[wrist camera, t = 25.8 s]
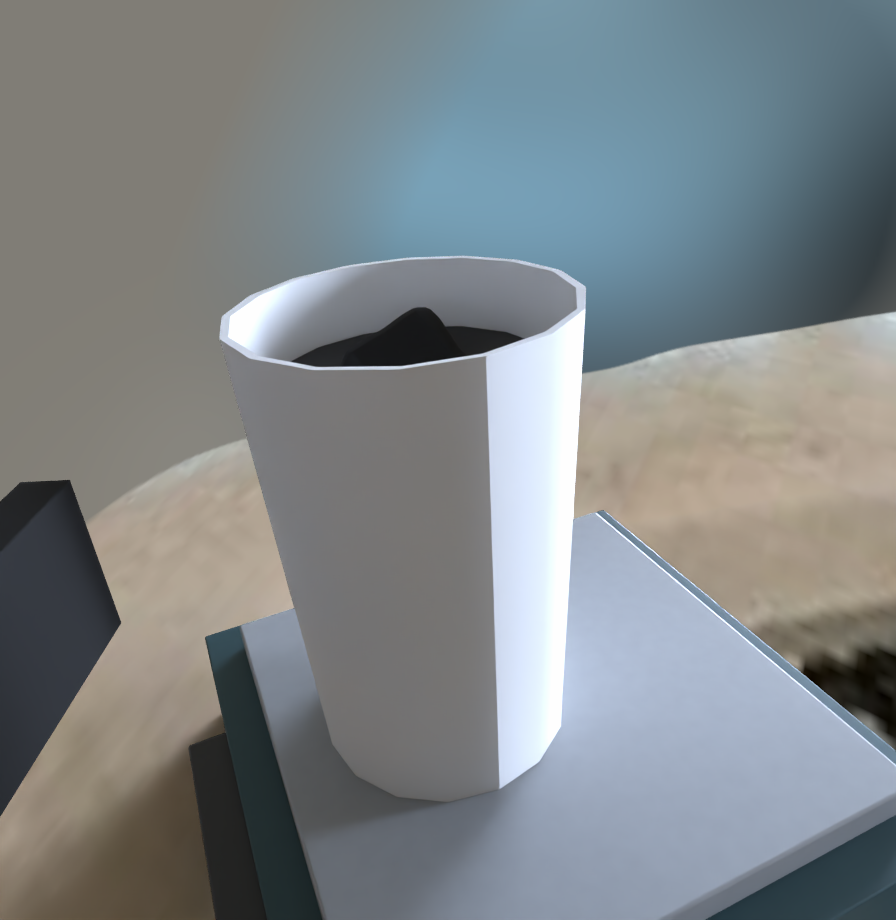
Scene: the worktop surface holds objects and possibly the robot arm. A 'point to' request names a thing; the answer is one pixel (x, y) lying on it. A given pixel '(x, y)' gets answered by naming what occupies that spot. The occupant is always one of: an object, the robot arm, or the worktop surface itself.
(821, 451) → the worktop surface
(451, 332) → the white coffee cup
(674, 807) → the scale
